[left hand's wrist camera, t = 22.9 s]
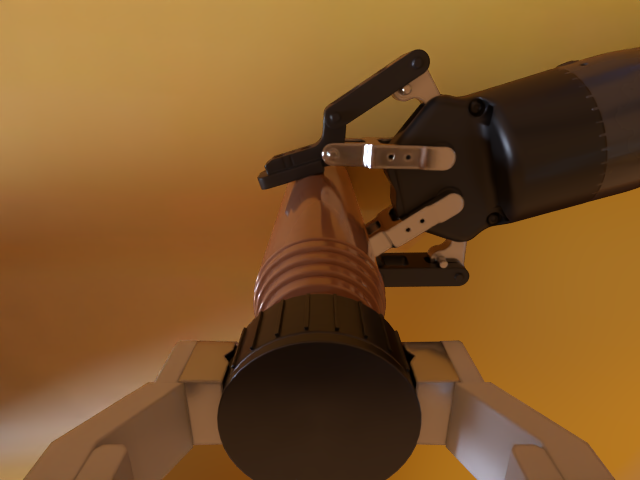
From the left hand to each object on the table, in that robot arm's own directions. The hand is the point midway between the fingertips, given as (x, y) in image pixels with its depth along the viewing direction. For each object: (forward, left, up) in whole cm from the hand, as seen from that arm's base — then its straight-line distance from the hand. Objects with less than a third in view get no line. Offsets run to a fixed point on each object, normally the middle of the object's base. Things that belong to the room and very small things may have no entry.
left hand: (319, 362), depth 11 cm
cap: (0, 0, +2) cm, 2 cm away
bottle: (0, 0, -21) cm, 21 cm away
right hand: (-1, +2, -14) cm, 14 cm away
